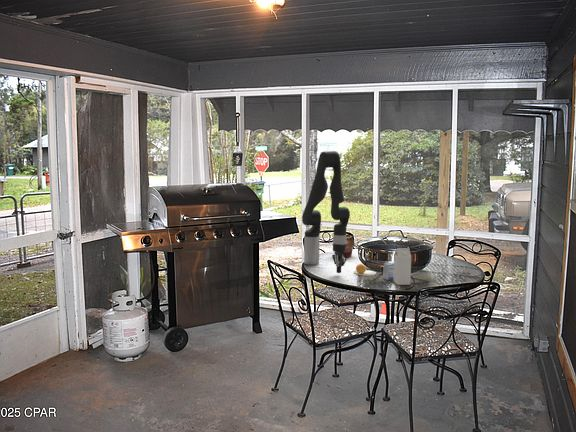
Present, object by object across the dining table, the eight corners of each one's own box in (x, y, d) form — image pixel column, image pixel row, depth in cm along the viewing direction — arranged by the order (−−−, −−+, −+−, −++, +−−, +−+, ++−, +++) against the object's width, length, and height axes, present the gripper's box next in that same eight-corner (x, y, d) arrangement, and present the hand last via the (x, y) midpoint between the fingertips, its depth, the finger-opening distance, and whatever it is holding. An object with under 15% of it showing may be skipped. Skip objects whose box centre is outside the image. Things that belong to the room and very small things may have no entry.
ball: (358, 274, 290) (352, 269, 288) (363, 266, 291) (357, 261, 289) (364, 276, 285) (357, 271, 283) (369, 268, 286) (363, 263, 284)
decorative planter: (339, 252, 346) (340, 232, 344) (356, 253, 342) (357, 233, 340) (331, 257, 328) (332, 237, 326) (349, 259, 323) (350, 238, 321)
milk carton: (393, 281, 271) (394, 247, 268) (405, 281, 272) (407, 247, 269) (397, 285, 264) (398, 249, 261) (410, 284, 265) (411, 249, 262)
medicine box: (387, 280, 273) (388, 264, 272) (382, 278, 277) (383, 263, 276) (399, 278, 277) (399, 263, 276) (393, 277, 281) (394, 261, 280)
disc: (349, 271, 292) (349, 270, 292) (368, 269, 297) (368, 269, 297) (360, 276, 280) (360, 276, 280) (380, 274, 285) (380, 274, 285)
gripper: (328, 240, 285) (327, 270, 287) (339, 245, 272) (338, 276, 275) (339, 240, 287) (339, 269, 290) (351, 244, 275) (350, 275, 278)
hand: (338, 272), depth 282 cm, fingers closed
